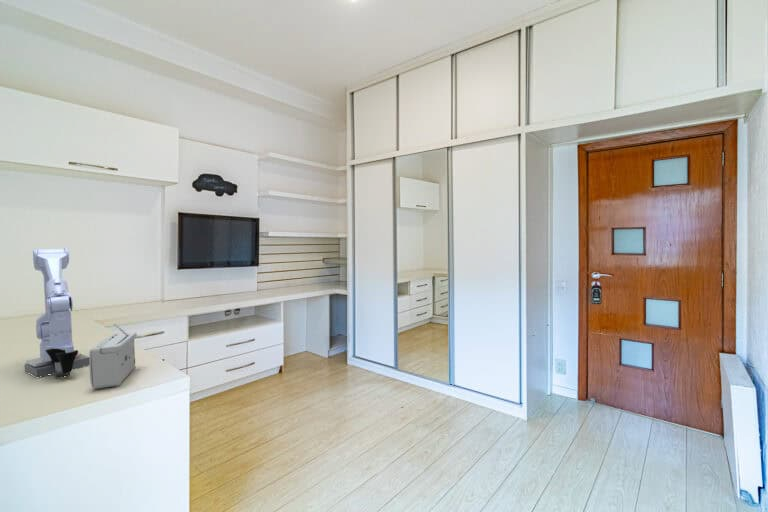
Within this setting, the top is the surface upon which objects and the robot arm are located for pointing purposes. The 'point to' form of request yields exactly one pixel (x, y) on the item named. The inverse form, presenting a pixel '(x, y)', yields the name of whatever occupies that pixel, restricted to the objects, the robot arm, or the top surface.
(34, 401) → the top surface
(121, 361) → the stereo radio cassette player
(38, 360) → the pan
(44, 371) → the base
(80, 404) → the top surface
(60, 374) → the cylinder
